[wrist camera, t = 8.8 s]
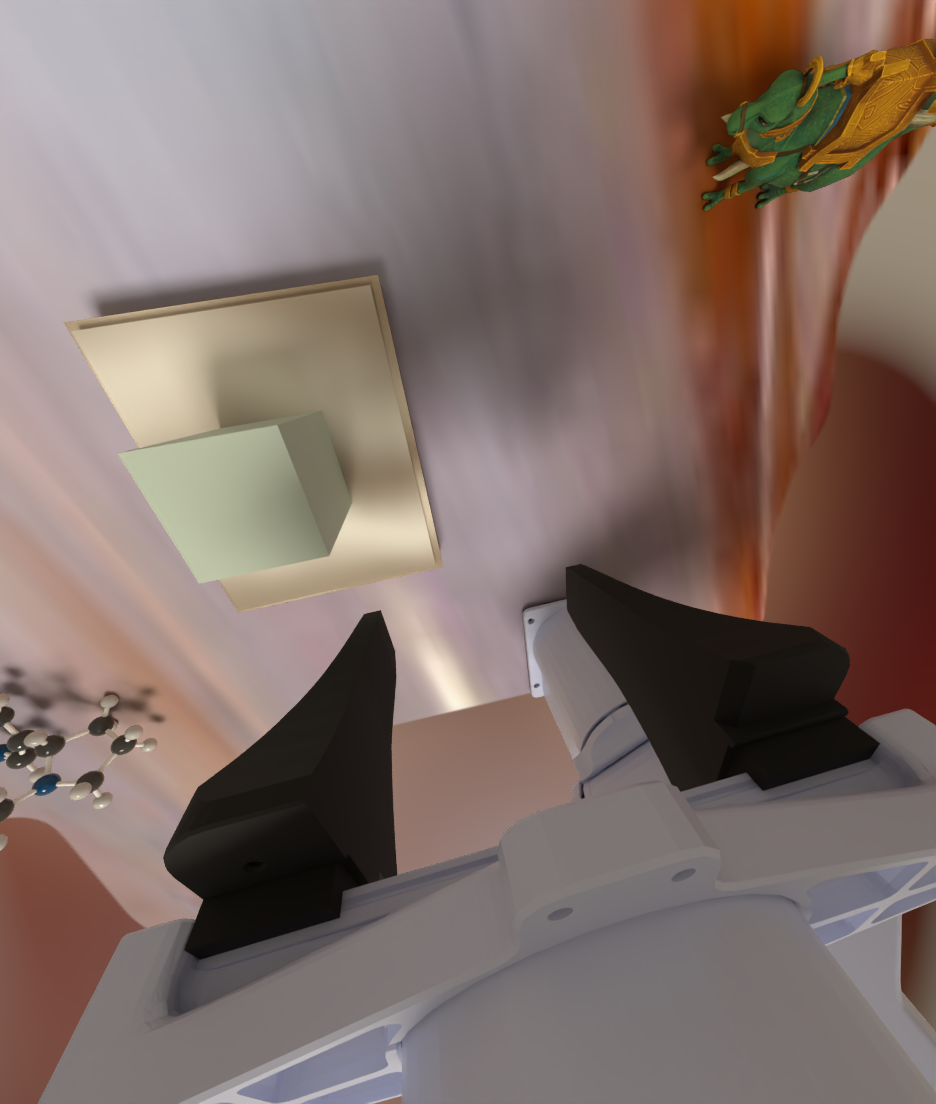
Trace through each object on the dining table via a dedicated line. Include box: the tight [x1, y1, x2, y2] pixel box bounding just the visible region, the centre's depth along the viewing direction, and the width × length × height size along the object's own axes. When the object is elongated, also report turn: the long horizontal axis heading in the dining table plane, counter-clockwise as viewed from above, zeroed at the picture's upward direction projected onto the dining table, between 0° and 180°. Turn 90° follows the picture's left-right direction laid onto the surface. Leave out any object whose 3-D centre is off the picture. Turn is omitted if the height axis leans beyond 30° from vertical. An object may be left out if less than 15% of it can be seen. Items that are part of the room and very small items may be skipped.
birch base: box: [64, 275, 443, 613], centre depth 17 cm, size 14×12×2 cm
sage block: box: [117, 410, 352, 584], centre depth 13 cm, size 4×4×6 cm
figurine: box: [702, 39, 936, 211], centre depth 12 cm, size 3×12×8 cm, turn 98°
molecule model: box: [0, 694, 157, 850], centre depth 20 cm, size 6×12×8 cm, turn 78°
